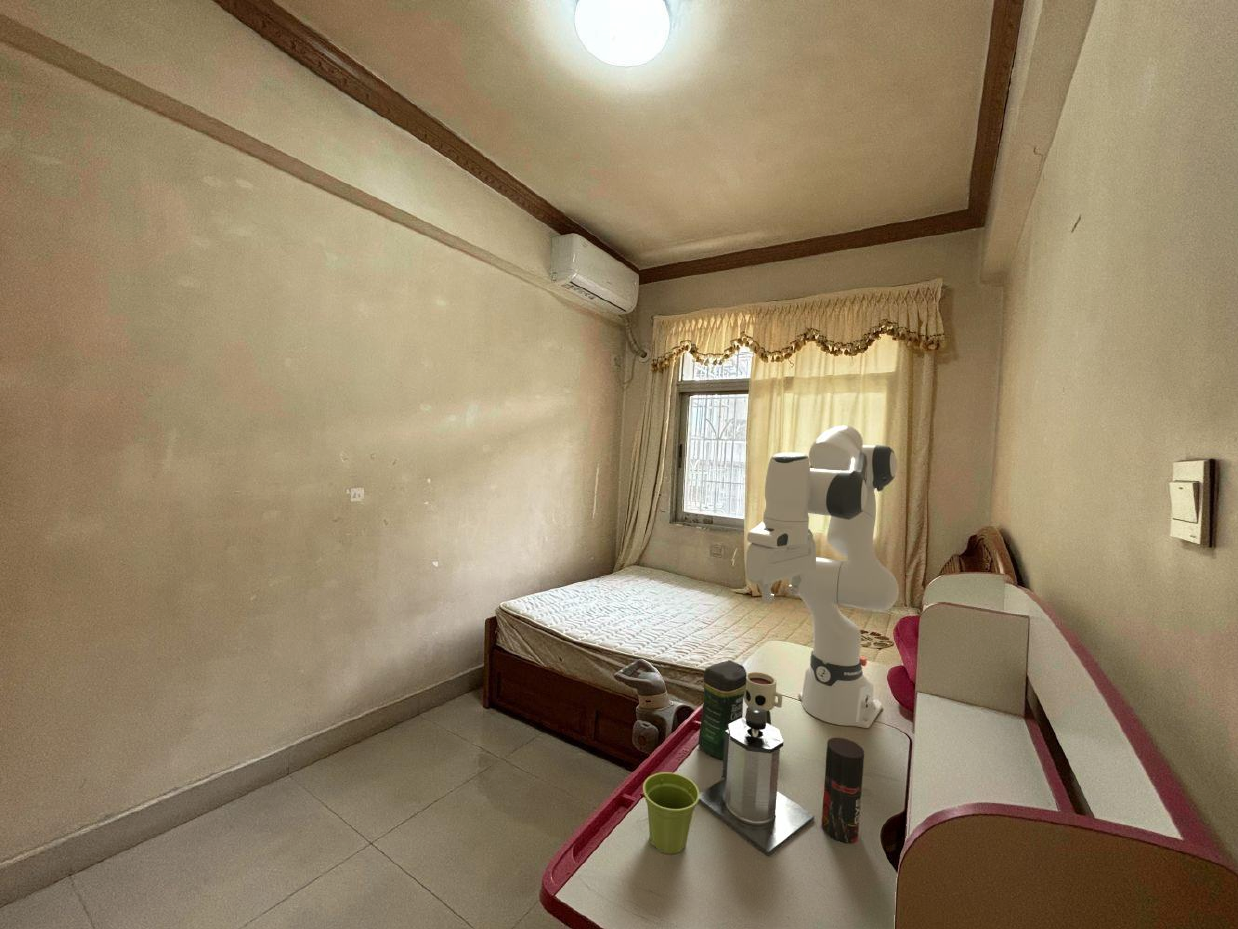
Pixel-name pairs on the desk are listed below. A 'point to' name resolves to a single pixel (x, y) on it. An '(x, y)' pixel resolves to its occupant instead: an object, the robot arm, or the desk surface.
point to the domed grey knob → (756, 719)
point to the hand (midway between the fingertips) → (781, 598)
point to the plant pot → (670, 809)
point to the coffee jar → (721, 704)
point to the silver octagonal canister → (754, 789)
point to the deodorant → (842, 790)
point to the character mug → (762, 692)
